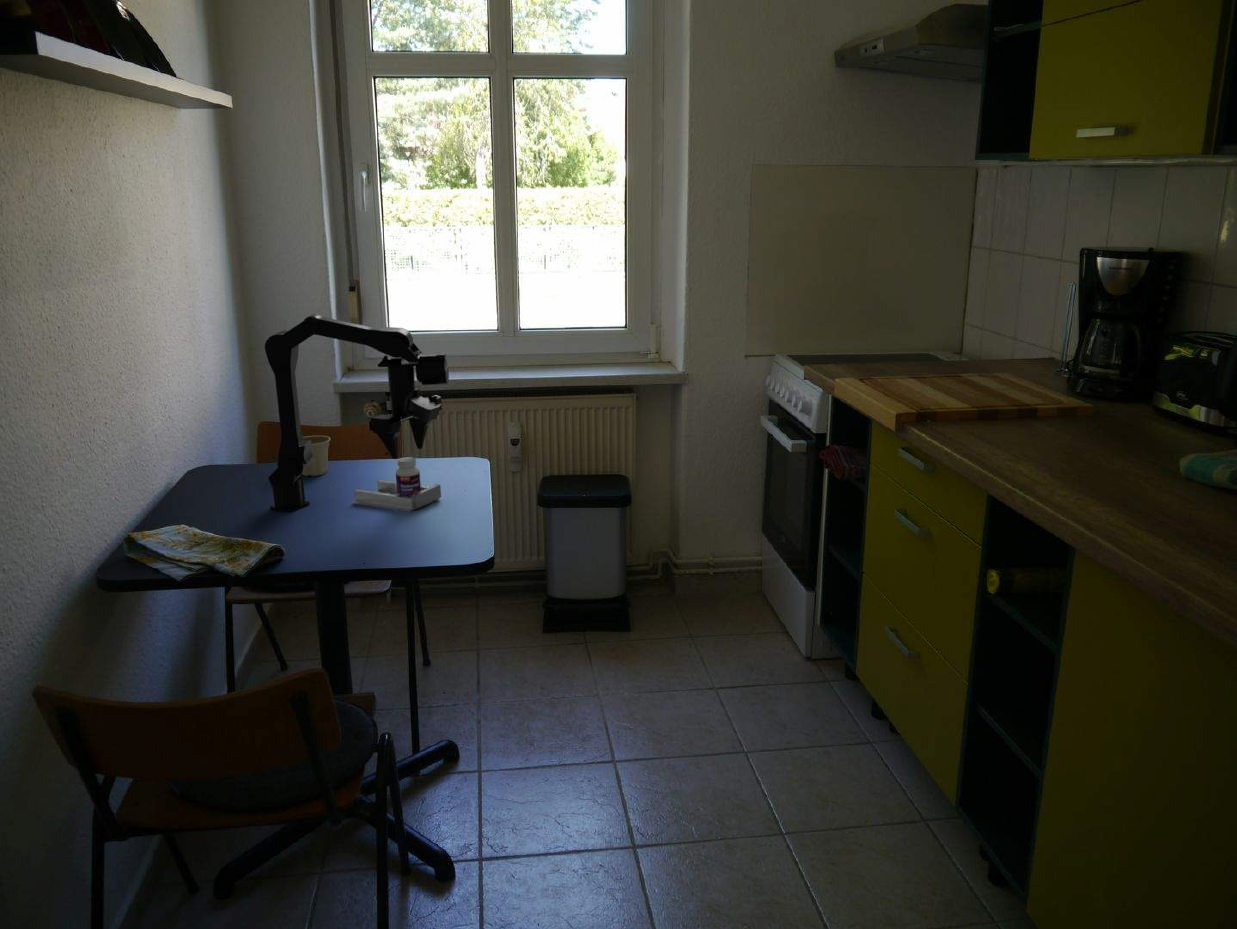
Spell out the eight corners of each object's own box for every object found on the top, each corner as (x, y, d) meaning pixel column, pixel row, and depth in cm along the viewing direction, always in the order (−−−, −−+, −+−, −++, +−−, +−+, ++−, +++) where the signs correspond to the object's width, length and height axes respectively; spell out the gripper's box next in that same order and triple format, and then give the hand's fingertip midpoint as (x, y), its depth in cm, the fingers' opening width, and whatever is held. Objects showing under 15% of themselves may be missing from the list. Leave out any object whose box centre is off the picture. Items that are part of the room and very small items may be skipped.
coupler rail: (414, 512, 229) (413, 497, 228) (353, 503, 236) (351, 488, 235) (443, 498, 239) (442, 483, 238) (383, 490, 246) (382, 475, 245)
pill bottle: (400, 505, 233) (397, 463, 230) (395, 498, 237) (392, 458, 235) (424, 501, 235) (421, 460, 232) (418, 495, 239) (415, 455, 237)
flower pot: (287, 475, 260) (283, 442, 257) (313, 466, 268) (310, 434, 265) (315, 480, 256) (311, 446, 253) (341, 470, 264) (338, 437, 261)
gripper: (406, 396, 217) (411, 467, 222) (456, 380, 233) (460, 446, 238) (363, 393, 222) (370, 462, 226) (415, 377, 238) (421, 442, 242)
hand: (407, 453), depth 233 cm, fingers open, 9 cm apart
